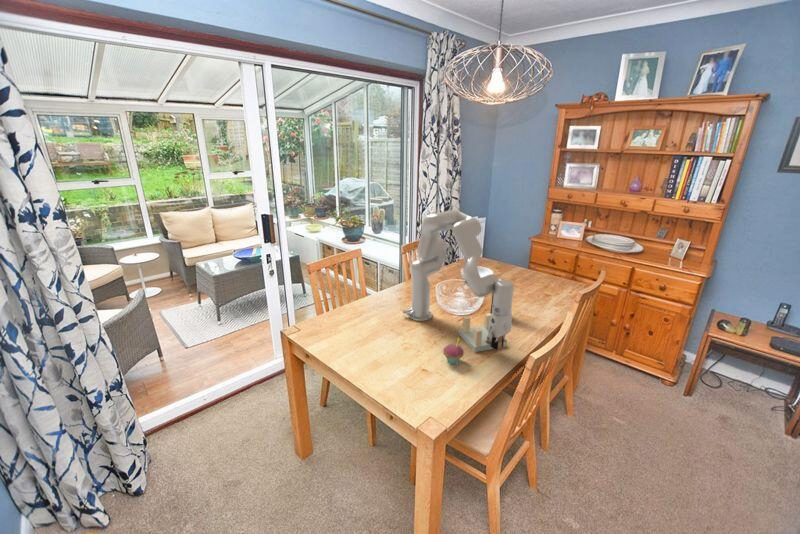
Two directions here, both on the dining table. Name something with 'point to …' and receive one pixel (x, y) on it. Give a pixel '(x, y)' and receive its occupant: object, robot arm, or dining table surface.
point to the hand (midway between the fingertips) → (496, 346)
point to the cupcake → (453, 353)
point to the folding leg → (498, 341)
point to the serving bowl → (480, 272)
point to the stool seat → (477, 334)
